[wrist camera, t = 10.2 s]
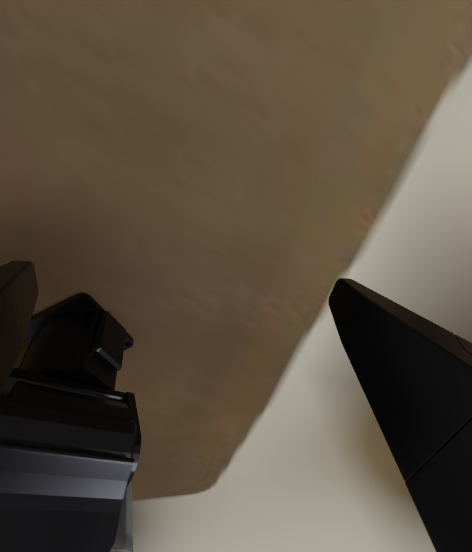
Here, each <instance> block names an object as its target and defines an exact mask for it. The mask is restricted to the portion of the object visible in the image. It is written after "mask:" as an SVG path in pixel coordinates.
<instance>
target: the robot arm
mask: <svg viewBox="0 0 472 552" xmlns="http://www.w3.org/2000/svg"><path fill="white" fill-rule="evenodd" d="M37 297H38V284H37V278H36V273H35V268H34V265H33V263H32V262H30V261H17V260H15V261H11V262H9V263H7V264H4V265H2V266H0V552H110V551H111V549H112V547H113V545H114V543H115V540H116V534H117V528H118V523H119V517H120V511H121V506H122V501H123V496H124V493H125V489H126V488H127V487H128V485H129V483H130V482H131V480H132V477H133V475H134V472H135V469H136V466H137V463H138V459H139V454H140V448H141V432H140V426H139V420H138V414H137V408H136V402H135V396H134V393H130V392H126V393H124V392H119V391H115V383H116V375H117V371H119V370H120V369H121V366H122V359H123V351H124V350H126V349H128V348H130V347H132V346H133V338H132V337H131V336H130V335H129V334H128V333H127V332H126V330H125V329H124V327H123V326H122V325H121V324H120V323H119V322H118V321H117V320H116V319H115V318H114V317H113V316H112V315H111V314H110V313H109V312H107V311H105V310H104V309H103V308H102V307H101V306H100V305H99V304H98V303H97V302H96V301H95V300H94V299H93V298H92V297H91V296H90V295H88V294H86V293H82V294H79V295H77V296H75V297H73V298H71V299H69V300H67V301H65V302H63V303H61V304H59V305H57V306H55V307H53V308H51V309H49V310H47V311H45V312H43V313H41V314H39V315H37V316H35V317H33V318H31V317H32V314H33V310H34V307H35V303H36V300H37ZM81 299H85V300H87V301H83V300H81ZM329 306H330V309H331V312H332V315H333V318H334V321H335V324H336V327H337V330H338V333H339V336H340V339H341V342H342V344H343V347H344V349H345V351H346V353H347V356H348V358H349V360H350V362H351V364H352V367H353V369H354V371H355V373H356V375H357V378H358V380H359V382H360V384H361V387H362V389H363V391H364V393H365V395H366V398H367V400H368V402H369V404H370V406H371V408H372V410H373V413H374V415H375V417H376V420H377V422H378V424H379V426H380V428H381V431H382V433H383V435H384V437H385V439H386V441H387V444H388V446H389V448H390V450H391V453H392V455H393V457H394V459H395V461H396V463H397V466H398V468H399V470H400V472H401V474H402V477H403V479H404V481H406V482H405V484H406V486H407V488H408V491H409V493H410V495H411V497H412V499H413V501H414V504H415V506H416V508H417V510H418V512H419V515H420V517H421V519H422V521H423V523H424V526H425V528H426V530H427V532H428V535H429V537H430V539H431V541H432V543H433V546H434V548H435V550H436V552H472V343H471V342H469V341H467V340H465V339H463V338H461V337H459V336H458V335H454V334H453V333H452V332H450V331H448V330H446V329H444V328H442V327H440V326H439V325H437V324H435V323H433V322H431V321H429V320H427V319H425V318H424V317H422V316H420V315H418V314H416V313H414V312H412V311H410V310H408V309H407V308H405V307H403V306H401V305H399V304H397V303H395V302H393V301H392V300H389V299H388V298H386V297H384V296H382V295H380V294H378V293H376V292H374V291H373V290H371V289H369V288H367V287H365V286H363V285H361V284H359V283H357V282H356V281H354V280H352V279H345V278H340V279H338V280H337V281H336V283H335V285H334V288H333V290H332V292H331V294H330V297H329ZM24 341H25V342H26V343H28V344H29V346H28V348H27V351H26V353H25V355H24V357H23V359H22V361H21V364H20V366H19V368H18V369H17V368H13V367H14V365H15V362H16V360H17V358H18V356H19V353H20V351H21V349H22V346H23V343H24ZM126 342H129V343H126Z"/></svg>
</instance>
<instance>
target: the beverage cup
mask: <svg viewBox="0 0 472 552" xmlns="http://www.w3.org/2000/svg"><path fill="white" fill-rule="evenodd" d="M110 552H133V529H132V480H131V482H130V483H129V485H128V487H127V488H126V489H125V493H124V496H123V501H122V506H121V511H120V517H119V523H118V528H117V534H116V540H115V543H114V545H113V547H112V549H111V551H110Z"/></svg>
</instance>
